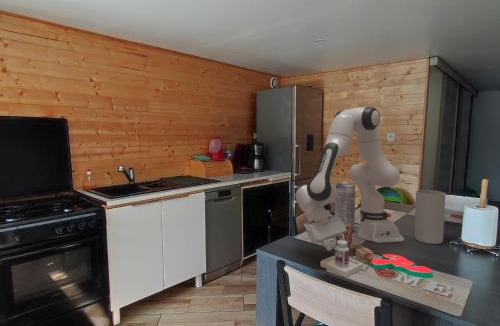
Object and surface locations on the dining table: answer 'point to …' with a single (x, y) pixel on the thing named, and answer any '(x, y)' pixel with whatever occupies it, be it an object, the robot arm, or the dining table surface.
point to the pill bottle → (341, 254)
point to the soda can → (347, 235)
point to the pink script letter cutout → (401, 265)
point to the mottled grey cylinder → (345, 203)
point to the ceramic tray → (342, 271)
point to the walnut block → (354, 249)
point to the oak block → (364, 255)
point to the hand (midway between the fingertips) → (337, 247)
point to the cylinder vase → (429, 216)
